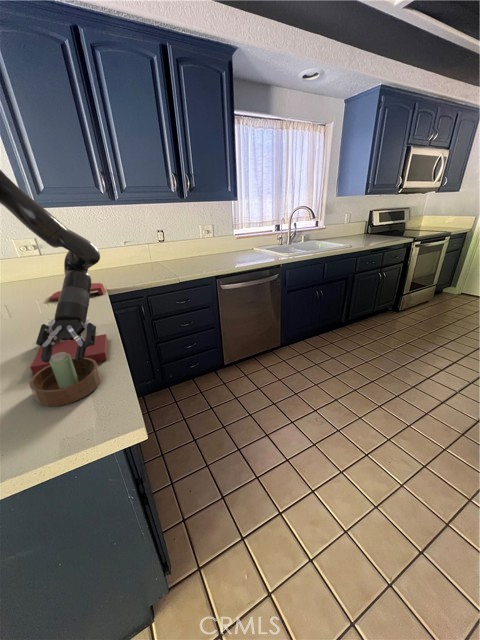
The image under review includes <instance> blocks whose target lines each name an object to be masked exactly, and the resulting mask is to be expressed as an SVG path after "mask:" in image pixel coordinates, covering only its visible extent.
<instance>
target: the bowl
mask: <svg viewBox="0 0 480 640" xmlns="http://www.w3.org/2000/svg"><path fill="white" fill-rule="evenodd" d="M72 361H73V364H74V367H75V370H76V374H77V377H78V380H79V382H78V383H76V384H73V385H70V386H68V387H65V388H60V389H59V386H58V384H57V381H56V378H55V376H54V373H53V370H52V368H51V365H49V366H47V367H45V368H43V369H42V370H40V371H39V372H37V373H36V374H35V375H33V376H32V377H31V379H30V381H29V389H30V390H31V393H32V396H33V398H34V400H35V402H36V403H38V404H39V405H41V406H45V407H60V406H64V405H69V404H72V403H74V402H77V401H79V400H81V399H83V398H85V397H87V396H88V395H90V394H91V393H92V392H93V391H95V390H96V389H97V388H98V387H99V385H100V384H101V381H102V375H101V372H100V369H99V364H98V362H96V361H95V360H93V359H91V358H85V357H84V359H82V361H81V362H78V361H75V358H72Z"/></svg>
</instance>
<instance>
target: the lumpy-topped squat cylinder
mask: <svg viewBox="0 0 480 640" xmlns="http://www.w3.org/2000/svg"><path fill="white" fill-rule="evenodd" d="M90 321H91V320H90V318H89V316H87V317H86V322H85V325H86V324H88V323H91V322H90ZM54 323H55V317H53V318H52V319H50V320H49V321H48V322H47V325H50V326H53V324H54ZM52 333H53V330H52ZM52 333H50V335H51V334H52ZM86 333H87V331H86V330H84V331H83V332H82V333H81V335H82V336H83V338H86ZM50 335H49V336H50ZM55 338H57V337H55ZM66 341H69V340H66ZM60 342H63V340H61V341H60Z"/></svg>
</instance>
